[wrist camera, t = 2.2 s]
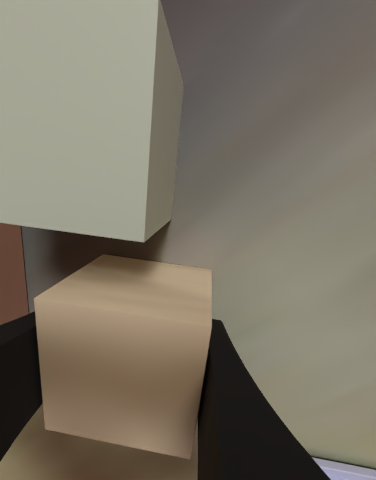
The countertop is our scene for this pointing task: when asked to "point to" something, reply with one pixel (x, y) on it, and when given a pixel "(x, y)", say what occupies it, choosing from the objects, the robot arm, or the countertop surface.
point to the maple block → (126, 352)
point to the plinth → (12, 274)
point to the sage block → (88, 116)
